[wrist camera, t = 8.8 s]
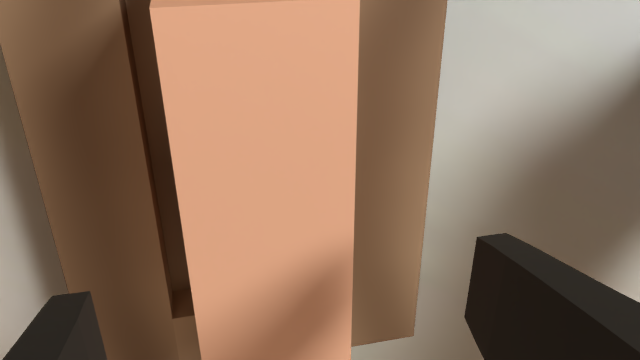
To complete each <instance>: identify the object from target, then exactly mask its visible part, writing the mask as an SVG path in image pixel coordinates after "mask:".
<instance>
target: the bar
mask: <svg viewBox="0 0 640 360" xmlns="http://www.w3.org/2000/svg"><path fill="white" fill-rule="evenodd" d="M149 9H150V15H151V22H152V29H153V36H154V42H155V49H156V56H157V63H158V69H159V76H160V83H161V90H162V96H163V103H164V110H165V117H166V123H167V130H168V137H169V144H170V150H171V157H172V164H173V171H174V177H175V184H176V191H177V198H178V204H179V211H180V218H181V225H182V231H183V238H184V245H185V252H186V258H187V265H188V272H189V279H190V285H191V292H192V299H193V306H194V312H195V319H196V326H197V333H198V339H199V346H200V353H201V360H351V329H352V290H353V251H354V212H355V174H356V135H357V96H358V57H359V18H360V0H151V3H150V8H149Z"/></svg>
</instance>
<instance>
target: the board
mask: <svg viewBox="0 0 640 360" xmlns="http://www.w3.org/2000/svg"><path fill="white" fill-rule="evenodd" d="M150 3H151V0H0V45H1V49H2V52H3V56H4V60H5V63H6V67H7V70H8V74H9V78H10V81H11V85H12V89H13V92H14V96H15V99H16V103H17V107H18V110H19V114H20V118H21V121H22V125H23V129H24V132H25V136H26V139H27V143H28V147H29V150H30V154H31V158H32V161H33V165H34V169H35V172H36V176H37V179H38V183H39V187H40V190H41V194H42V198H43V201H44V205H45V209H46V212H47V216H48V219H49V223H50V227H51V230H52V234H53V238H54V241H55V245H56V248H57V252H58V256H59V259H60V263H61V267H62V270H63V274H64V278H65V281H66V285H67V288H68V292H69V294H71V293H78V292H85V291H90V292H91V296H92V300H93V304H94V308H95V312H96V316H97V320H98V324H99V328H100V332H101V336H102V340H103V344H104V348H105V352H106V356H107V360H201V353H200V346H199V339H198V333H197V326H196V319H195V312H194V306H193V299H192V292H191V285H190V279H189V272H188V265H187V258H186V252H185V245H184V238H183V231H182V225H181V218H180V211H179V204H178V198H177V191H176V184H175V177H174V171H173V164H172V157H171V150H170V144H169V137H168V130H167V123H166V117H165V110H164V103H163V96H162V90H161V83H160V76H159V69H158V63H157V56H156V49H155V42H154V36H153V29H152V22H151V15H150V9H149V8H150ZM446 9H447V0H360V18H359V57H358V96H357V135H356V174H355V212H354V251H353V290H352V329H351V347H353V346H359V345H364V344H370V343H376V342H382V341H387V340H393V339H399V338H405V337H410V336H413V335H414V325H415V315H416V305H417V296H418V286H419V276H420V266H421V256H422V246H423V236H424V226H425V217H426V207H427V197H428V187H429V177H430V167H431V157H432V147H433V138H434V128H435V118H436V108H437V98H438V88H439V78H440V68H441V59H442V49H443V39H444V29H445V19H446Z"/></svg>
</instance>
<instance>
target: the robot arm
mask: <svg viewBox="0 0 640 360" xmlns="http://www.w3.org/2000/svg"><path fill="white" fill-rule="evenodd" d="M465 319H466V322H467V324H468V326H469V328H470V330H471V333H472V335H473V337H474V339H475V342H476V344H477V346H478V348H479V350H480V352H481V354H482V356H483V358H484V360H640V303H639V302H637V301H635V300H633V299H631V298H629V297H627V296H625V295H623V294H621V293H619V292H617V291H615V290H613V289H611V288H610V287H608V286H606V285H604V284H602V283H600V282H598V281H596V280H594V279H592V278H591V277H589V276H587V275H585V274H583V273H581V272H579V271H578V270H576V269H574V268H572V267H570V266H568V265H566V264H565V263H563V262H561V261H559V260H557V259H555V258H554V257H552V256H550V255H548V254H546V253H544V252H542V251H541V250H539V249H537V248H535V247H533V246H531V245H529V244H527V243H525V242H523V241H521V240H519V239H517V238H515V237H513V236H511V235H509V234H506V233H503V234H495V235H488V236H481V237H477V241H476V247H475V253H474V260H473V266H472V272H471V279H470V285H469V292H468V298H467V304H466V311H465ZM3 360H107V356H106V352H105V348H104V344H103V340H102V336H101V332H100V328H99V324H98V320H97V316H96V312H95V308H94V304H93V300H92V296H91V292H90V291H85V292H78V293H71V294H64V295H57V296H52V297H51V298H50V299H49V300H48V302H47V303H46V304H45V305H44V307H43V308H42V309H41V310H40V312H39V313H38V314H37V316H36V317H35V318H34V319H33V321H32V322H31V323H30V325H29V326H28V327H27V329H26V330H25V331H24V333H23V334H22V335H21V336H20V338H19V339H18V340H17V342H16V343H15V344H14V345H13V347H12V348H11V349H10V351H9V352H8V353H7V354H6V356H5V357H4V358H3Z"/></svg>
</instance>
